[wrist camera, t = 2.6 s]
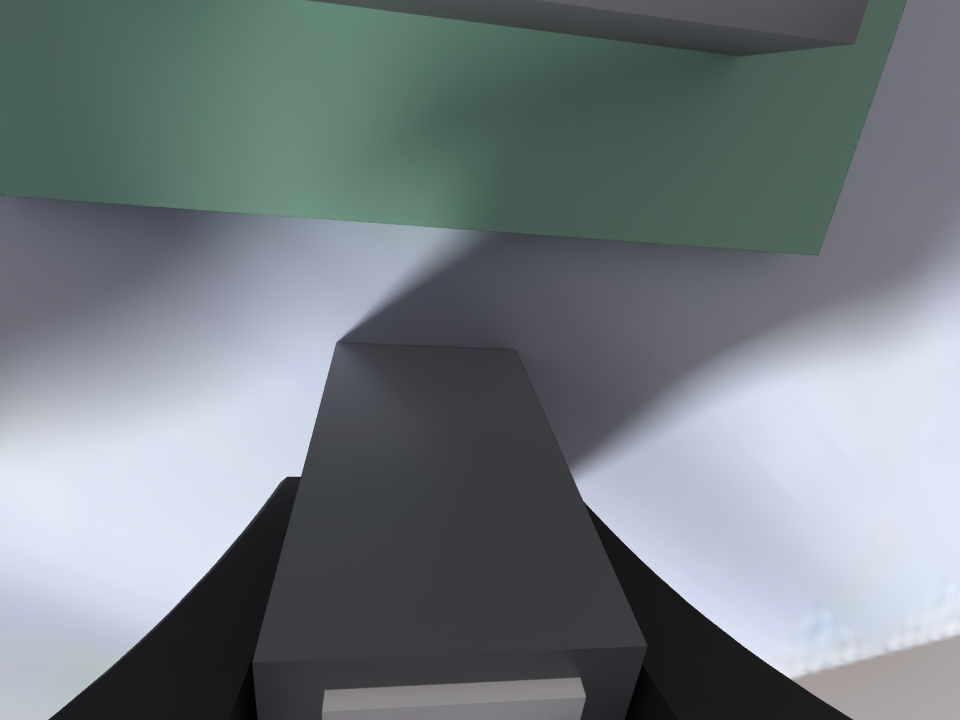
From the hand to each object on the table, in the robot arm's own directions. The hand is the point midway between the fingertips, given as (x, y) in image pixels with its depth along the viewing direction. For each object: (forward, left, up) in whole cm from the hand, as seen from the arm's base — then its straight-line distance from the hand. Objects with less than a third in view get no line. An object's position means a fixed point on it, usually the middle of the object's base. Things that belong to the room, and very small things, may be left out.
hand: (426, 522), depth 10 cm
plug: (0, 0, -2) cm, 2 cm away
